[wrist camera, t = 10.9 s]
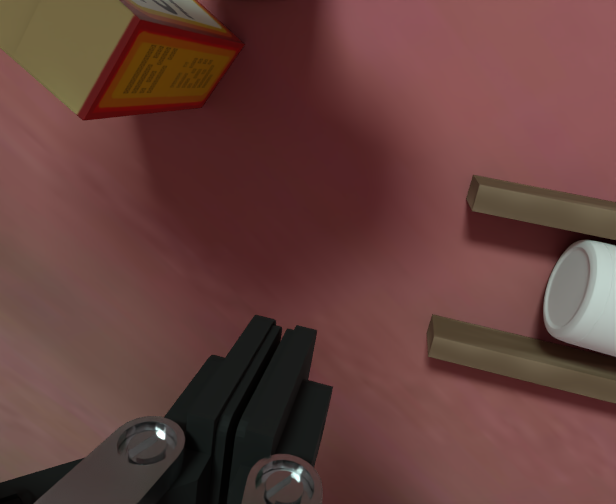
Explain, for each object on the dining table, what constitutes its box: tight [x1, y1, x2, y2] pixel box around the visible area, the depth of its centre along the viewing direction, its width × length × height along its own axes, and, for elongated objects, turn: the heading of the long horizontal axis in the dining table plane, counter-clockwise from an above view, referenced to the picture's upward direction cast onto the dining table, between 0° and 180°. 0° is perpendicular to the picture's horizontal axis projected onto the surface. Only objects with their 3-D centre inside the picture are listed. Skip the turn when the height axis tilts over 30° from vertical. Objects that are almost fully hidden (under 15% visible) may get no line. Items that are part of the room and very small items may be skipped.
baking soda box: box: [0, 0, 245, 120], centre depth 31 cm, size 10×6×16 cm
